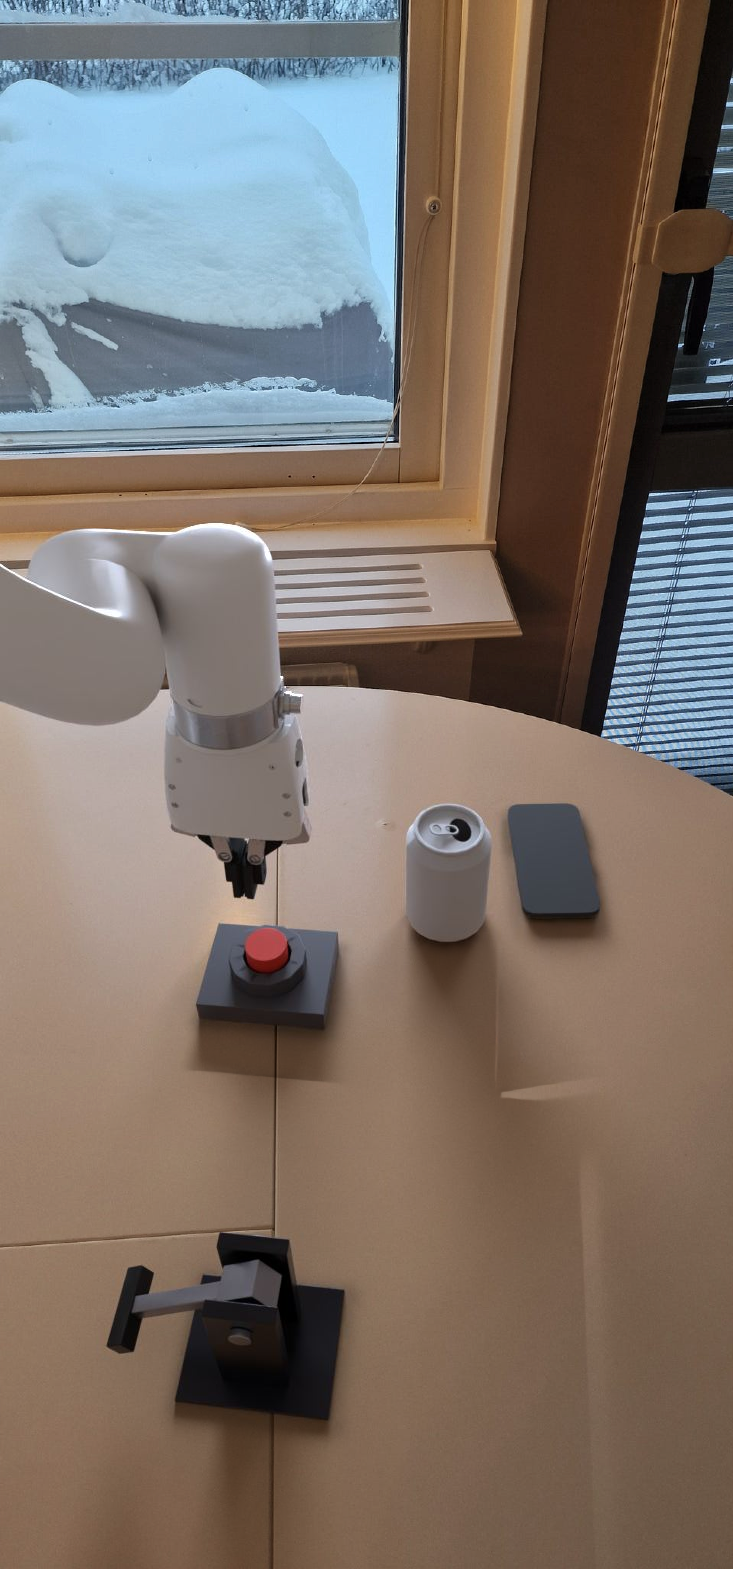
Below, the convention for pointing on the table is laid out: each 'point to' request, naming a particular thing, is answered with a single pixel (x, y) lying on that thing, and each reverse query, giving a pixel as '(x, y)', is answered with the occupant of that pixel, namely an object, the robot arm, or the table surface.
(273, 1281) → the lever
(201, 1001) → the button block
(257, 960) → the button
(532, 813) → the phone
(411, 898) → the can
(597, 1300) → the table surface
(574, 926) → the table surface
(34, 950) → the table surface
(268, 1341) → the bracket
